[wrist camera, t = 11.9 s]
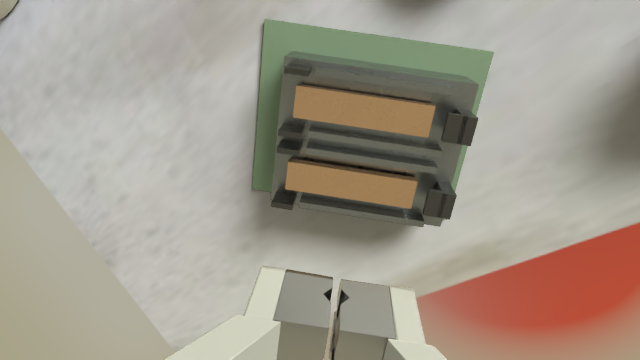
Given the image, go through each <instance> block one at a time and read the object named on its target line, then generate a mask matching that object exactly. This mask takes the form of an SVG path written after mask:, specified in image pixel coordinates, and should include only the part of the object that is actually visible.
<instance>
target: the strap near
mask: <svg viewBox="0 0 640 360" xmlns="http://www.w3.org/2000/svg"><path fill="white" fill-rule="evenodd" d="M435 107H436V106H435V105H434V104H432V103H425V102H418V101H412V100H405V99H398V98H391V97H385V96H378V95H371V94H364V93H357V92H351V91H344V90H337V89H330V88H324V87H317V86H310V85H303V84H297V85H296V93H295V102H294V111H293V117H294V118H300V119H307V120H314V121H320V122H327V123H334V124H340V125H347V126H354V127H360V128H367V129H374V130H380V131H387V132H394V133H400V134H407V135H414V136H420V137H427V138H428V136H429V132H430V128H431V124H432V120H433V116H434V111H435Z"/></svg>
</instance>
